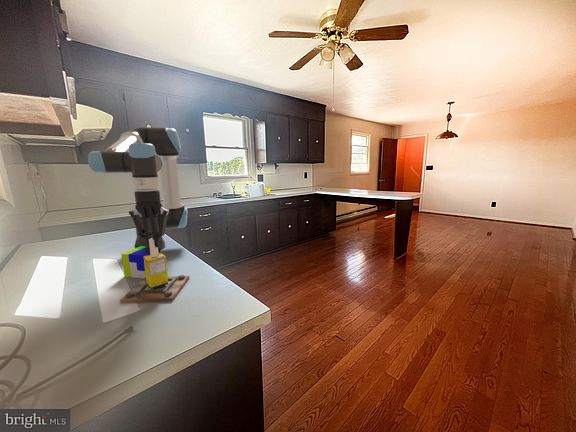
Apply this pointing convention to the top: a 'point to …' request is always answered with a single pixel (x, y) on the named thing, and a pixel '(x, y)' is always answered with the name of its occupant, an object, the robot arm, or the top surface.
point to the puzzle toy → (135, 262)
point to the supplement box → (156, 271)
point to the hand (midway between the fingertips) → (154, 255)
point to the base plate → (155, 291)
